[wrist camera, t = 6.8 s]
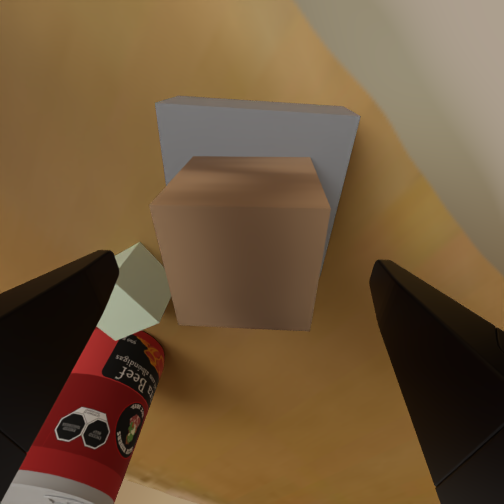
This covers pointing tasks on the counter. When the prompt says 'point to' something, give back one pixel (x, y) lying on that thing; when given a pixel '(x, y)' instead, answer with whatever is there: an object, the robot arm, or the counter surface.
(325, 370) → the counter surface
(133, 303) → the sage block
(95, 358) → the canned food
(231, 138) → the grey square block
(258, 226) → the walnut cube
